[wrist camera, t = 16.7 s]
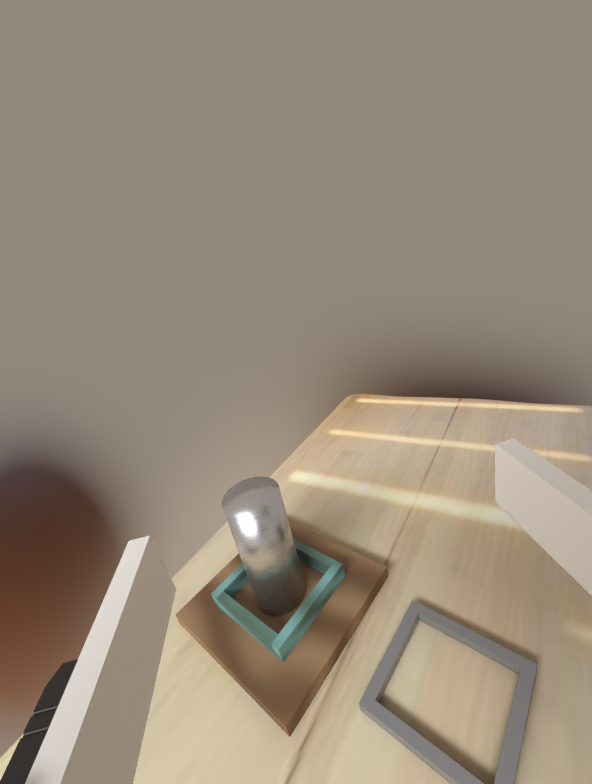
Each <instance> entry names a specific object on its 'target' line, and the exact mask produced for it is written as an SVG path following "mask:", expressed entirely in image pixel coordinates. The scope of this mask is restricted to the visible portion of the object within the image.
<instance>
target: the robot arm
mask: <svg viewBox="0 0 592 784" xmlns="http://www.w3.org/2000/svg"><path fill="white" fill-rule="evenodd" d="M495 502H496V503H497V504H498V505H499V506H500V507H501V508H502V509H503V510H504V511H505V512H506V513H507V514H508V515H509V516H510V517H511V518H512V519H513V520H514V521H515V522H516V523H518V524H519V525H520V526H521V527H522V528H523V529H524V530H525V531H526V532H527V533H528V534H529V535H530V536H531V537H532V538H533V539H534V540H535V541H536V542H537V543H538V544H539V545H540V546H541V547H542V548H543V549H544V550H545V551H546V552H547V553H548V554H549V555H550V556H551V557H552V558H553V559H554V560H555V561H556V562H557V563H558V564H559V565H560V566H561V567H562V568H563V569H564V570H566V571H567V572H568V573H569V574H570V575H571V576H572V577H573V578H574V579H575V580H576V581H577V582H578V583H579V584H580V585H581V586H582V587H583V588H584V589H585V590H586V591H587V592H588V593H589V594H590V595H591V596H592V490H590V489H589V488H587V487H586V486H584V485H583V484H581V483H580V482H578V481H577V480H575V479H574V478H572V477H571V476H569V475H568V474H566V473H565V472H563V471H562V470H560V469H559V468H557V467H556V466H554V465H553V464H551V463H550V462H548V461H547V460H546V459H544V458H543V457H541V456H540V455H538V454H537V453H535V452H534V451H532V450H531V449H529V448H528V447H526V446H525V445H523V444H522V443H520V442H519V441H517V440H516V439H511V440H508V441H504V442H500V443H496V444H495ZM175 591H176V588H175V586H174V584H173V582H172V580H171V577H170V576H169V573H168V571H167V570H166V567H165V565H164V563H163V561H162V559H161V557H160V555H159V553H158V551H157V549H156V547H155V545H154V543H153V541H152V539H151V537H150V536H146V537H143V538H139V539H135V540H131V541H129V542H128V544H127V547H126V549H125V551H124V554H123V556H122V558H121V561H120V563H119V566H118V568H117V570H116V572H115V575H114V577H113V579H112V582H111V584H110V587H109V589H108V591H107V593H106V596H105V598H104V600H103V603H102V605H101V607H100V610H99V612H98V614H97V617H96V619H95V622H94V624H93V626H92V628H91V631H90V633H89V635H88V638H87V640H86V642H85V645H84V647H83V649H82V652H81V654H80V656H79V659H77V660H73V661H70V662H66V663H63V664H62V665H61V667H60V668H59V670H58V671H57V672H56V673H55V675H54V676H53V677H52V679H51V680H50V681H49V683H48V684H47V685H46V687H45V689H44V691H43V693H42V695H41V697H40V699H39V701H38V704H37V705H36V707H35V710H34V715H33V716H32V717H31V718H30V720H29V722H28V724H27V726H26V729H25V731H24V736H23V738H21V739H20V741H19V743H18V745H17V747H16V749H15V751H14V754H13V756H12V758H11V760H10V762H9V764H8V766H7V768H6V770H5V772H4V774H3V777H2V779H1V781H0V784H133V780H134V776H135V771H136V767H137V762H138V758H139V753H140V749H141V744H142V740H143V735H144V731H145V726H146V722H147V717H148V713H149V708H150V704H151V699H152V695H153V690H154V686H155V681H156V677H157V672H158V668H159V663H160V659H161V654H162V650H163V645H164V641H165V636H166V632H167V627H168V623H169V618H170V614H171V609H172V605H173V600H174V596H175Z"/></svg>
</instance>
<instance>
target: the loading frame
mask: <svg viewBox="0 0 592 784" xmlns="http://www.w3.org/2000/svg"><path fill="white" fill-rule="evenodd" d="M418 620H421V621H423V622H424V623H426V624H428V625H430V626H432V627H434V628H435V629H437V630H439V631H441V632H443V633H445V634H447V635H448V636H450V637H452V638H454V639H456V640H458V641H459V642H461V643H463V644H465V645H467V646H469V647H470V648H472V649H474V650H476V651H478V652H480V653H482V654H483V655H485V656H487V657H489V658H491V659H493V660H494V661H496V662H498V663H500V664H502V665H504V666H505V667H507V668H509V669H511V670H513V671H515V672H517V673H518V674H519V678H518V682H517V686H516V691H515V695H514V699H513V704H512V708H511V712H510V716H509V721H508V725H507V729H506V734H505V738H504V742H503V746H502V751H501V755H500V759H499V764H498V768H497V772H496V776H495V781H494V784H514V782H515V777H516V772H517V767H518V762H519V757H520V752H521V747H522V742H523V737H524V732H525V727H526V722H527V717H528V712H529V707H530V702H531V697H532V692H533V687H534V682H535V677H536V672H537V664H536V663H534V662H532V661H530V660H528V659H526V658H524V657H522V656H521V655H519V654H517V653H515V652H513V651H511V650H509V649H507V648H505V647H503V646H501V645H499V644H497V643H495V642H493V641H491V640H489V639H487V638H485V637H483V636H481V635H479V634H478V633H476V632H474V631H472V630H470V629H468V628H466V627H464V626H462V625H460V624H458V623H456V622H454V621H452V620H450V619H448V618H446V617H444V616H442V615H440V614H438V613H436V612H435V611H433V610H431V609H429V608H427V607H425V606H423V605H421V604H419V603H417V602H415V601H412V603H411V605H410V607H409V609H408V610H407V612H406V614H405V616H404V618H403V620H402V622H401V624H400V626H399V628H398V630H397V632H396V634H395V635H394V637H393V639H392V641H391V643H390V645H389V647H388V649H387V651H386V653H385V655H384V657H383V659H382V660H381V662H380V664H379V666H378V668H377V670H376V672H375V674H374V676H373V678H372V680H371V682H370V684H369V686H368V687H367V689H366V691H365V693H364V695H363V697H362V699H361V701H360V703H359V705H360V709H361V711H362V712H363V713H365V714H366V715H367V716H368V717H370V718H371V719H372V720H373V721H375V722H376V723H377V724H378V725H379V726H381V727H382V728H383V729H384V730H386V731H387V732H388V733H389V734H391V735H392V736H393V737H394V738H395V739H397V740H398V741H399V742H400V743H402V744H403V745H404V746H405V747H407V748H408V749H409V750H410V751H411V752H413V753H414V754H415V755H416V756H418V757H419V758H420V759H421V760H423V761H424V762H425V763H426V764H427V765H429V766H430V767H431V768H432V769H434V770H435V771H436V772H437V773H439V774H440V775H441V776H442V777H443V778H445V779H446V780H447V781H448V782H450V783H451V784H484V783H483V782H481V781H480V780H479V779H478V778H476V777H475V776H474V775H472V774H471V773H470V772H468V771H467V770H466V769H464V768H463V767H462V766H461V765H459V764H458V763H457V762H455V761H454V760H453V759H451V758H450V757H449V756H447V755H446V754H445V753H444V752H442V751H441V750H440V749H438V748H437V747H436V746H434V745H433V744H432V743H431V742H429V741H428V740H427V739H425V738H424V737H423V736H421V735H420V734H419V733H417V732H416V731H415V730H414V729H412V728H411V727H410V726H408V725H407V724H406V723H404V722H403V721H402V720H400V719H399V718H398V717H397V716H395V715H394V714H393V713H391V712H390V711H389V710H387V709H386V708H385V707H383V706H382V705H381V704H380V703H379V701H380V699H381V697H382V695H383V693H384V691H385V689H386V686H387V684H388V682H389V680H390V678H391V676H392V674H393V672H394V670H395V668H396V666H397V664H398V662H399V660H400V658H401V655H402V653H403V651H404V649H405V647H406V645H407V643H408V641H409V639H410V637H411V635H412V633H413V631H414V629H415V627H416V624H417V622H418Z"/></svg>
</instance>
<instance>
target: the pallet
mask: <svg viewBox="0 0 592 784" xmlns="http://www.w3.org/2000/svg"><path fill="white" fill-rule="evenodd" d="M288 522H289V525H290V529H291V533H292V536H293V540H294V543H295V547H296V551H297V554H298V558H299V562H300V565H301V569H302V573H303V576H304V580H305V584H306V592H305V596H304V598H303V600H302V602H301V603H300V604H299V605H298V607H296V608H295V609H294V610H293V611H291V612H289V613H287V614H285V615H281V616H271V615H268V614H265V613H264V612H262V611H261V610H260V609H259V607H258V605H257V603H256V600H255V597H254V594H253V591H252V589H251V586H250V583H249V580H248V577H247V574H246V572H245V569H244V566H243V563H242V560H241V557H240V555H239V554H238V555H237V556H236V557H235V558H234V559H233V560H232V561H231V562H230V563H229V564H227V565H226V566H225V567H224V568H223V569H222V570H221V571H220V572H219V573H218V574H217V575H216V576H215V577H214V578H213V579H212V580H211V581H210V582H209V583H208V584H207V585H206V586H205V587H204V588H203V589H202V590H201V591H200V592H199V593H198V594H196V595H195V596H194V597H193V598H192V599H191V600H190V601H189V602H188V603H187V604H186V605H185V606H184V607H183V608H182V609H181V610H180V611H179V612H178V613H177V614H176V617H177V619H178V621H179V622H180V624H181V625H182V626H183V627H184V628H185V629H186V630H187V631H188V632H189V633H190V634H191V635H192V636H193V637H194V638H195V639H196V640H197V641H198V642H199V643H200V644H201V645H202V647H203V648H204V649H205V650H206V651H207V652H208V653H209V654H210V655H211V656H212V657H213V658H214V659H215V660H216V661H217V662H218V663H219V664H220V665H221V666H222V667H223V668H224V669H225V670H226V671H227V672H228V673H229V674H230V675H231V676H232V677H233V679H234V680H235V681H236V682H237V683H238V684H239V685H240V686H241V687H242V688H243V689H244V690H245V691H246V692H247V693H248V694H249V695H250V696H251V697H252V698H253V699H254V700H255V701H256V702H257V703H258V704H259V705H260V706H261V707H262V708H263V709H264V711H265V712H266V713H267V714H268V715H269V716H270V717H271V718H272V719H273V720H274V721H275V722H276V723H277V724H278V725H279V726H280V727H281V728H282V729H283V730H284V731H285V732H286V733H287V734H288V735H289V736H291V734H292V732H293V731H294V729H295V727H296V726H297V724H298V722H299V721H300V719H301V718H302V716H303V714H304V713H305V711H306V709H307V708H308V706H309V704H310V703H311V701H312V700H313V698H314V696H315V695H316V693H317V691H318V690H319V688H320V686H321V685H322V683H323V682H324V680H325V678H326V677H327V675H328V673H329V672H330V670H331V668H332V667H333V665H334V664H335V662H336V660H337V659H338V657H339V655H340V654H341V652H342V650H343V649H344V647H345V646H346V644H347V642H348V641H349V639H350V637H351V636H352V634H353V632H354V631H355V629H356V628H357V626H358V624H359V623H360V621H361V619H362V618H363V616H364V614H365V613H366V611H367V610H368V608H369V606H370V605H371V603H372V601H373V600H374V598H375V596H376V595H377V593H378V592H379V590H380V588H381V587H382V585H383V583H384V582H385V580H386V578H387V577H388V572H387V567H386V566H384V565H382V564H379V563H377V562H375V561H373V560H371V559H369V558H367V557H365V556H362V555H360V554H358V553H356V552H354V551H352V550H350V549H348V548H345V547H343V546H341V545H339V544H337V543H335V542H333V541H330V540H328V539H326V538H324V537H322V536H320V535H318V534H316V533H313V532H311V531H309V530H307V529H305V528H303V527H301V526H299V525H296V524H294V523H292V522H290V521H288Z"/></svg>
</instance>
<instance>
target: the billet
mask: <svg viewBox="0 0 592 784" xmlns="http://www.w3.org/2000/svg"><path fill="white" fill-rule="evenodd" d="M222 506H223V509H224V512H225V515H226V517H227V520H228V523H229V526H230V529H231V532H232V535H233V537H234V540H235V543H236V546H237V549H238V552H239V555H240V557H241V560H242V563H243V566H244V569H245V572H246V574H247V577H248V580H249V583H250V586H251V589H252V591H253V594H254V597H255V600H256V603H257V605H258V607H259V609H260V610H261V611H262V612H264V613H265V614H268V615H271V616H281V615H285V614H287V613H289V612H291V611H293V610H294V609H295V608H296V607H298V605H299V604H300V603H301V602H302V600H303V598H304V596H305V592H306V584H305V580H304V576H303V573H302V569H301V565H300V562H299V558H298V554H297V551H296V547H295V543H294V540H293V536H292V533H291V529H290V525H289V522H288V518H287V514H286V511H285V507H284V503H283V500H282V496H281V492H280V489H279V485H278V483H277V482H276V481H275V480H273V479H271V478H268V477H254V478H249V479H246V480H244V481H241V482H239V483H237V484H236V485H234V486H233V487H232V488H230V489H229V490H228V491H227V493H226V494H225V495H224V497H223V501H222Z"/></svg>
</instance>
